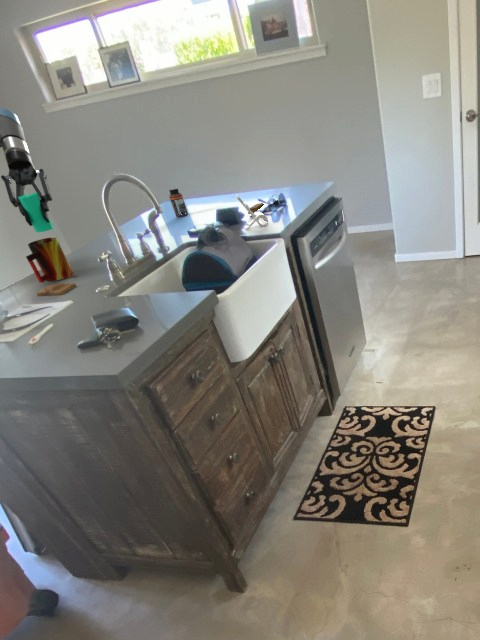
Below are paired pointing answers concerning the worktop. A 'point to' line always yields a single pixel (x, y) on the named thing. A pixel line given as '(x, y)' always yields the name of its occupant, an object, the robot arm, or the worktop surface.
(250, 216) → the tap handle
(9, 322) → the worktop surface
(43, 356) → the worktop surface
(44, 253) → the mug
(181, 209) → the supplement bottle
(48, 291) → the cork mat
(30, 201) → the candle
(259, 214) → the plastic part
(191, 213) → the worktop surface
